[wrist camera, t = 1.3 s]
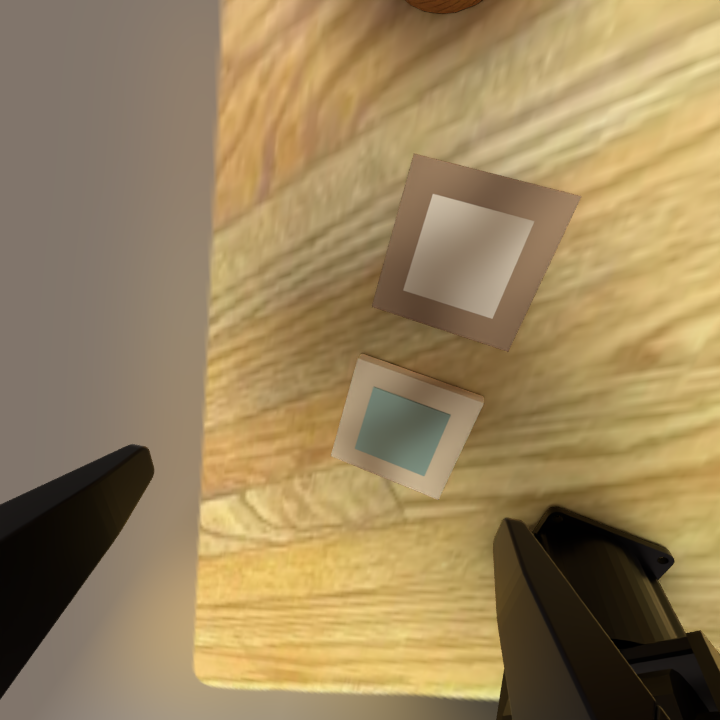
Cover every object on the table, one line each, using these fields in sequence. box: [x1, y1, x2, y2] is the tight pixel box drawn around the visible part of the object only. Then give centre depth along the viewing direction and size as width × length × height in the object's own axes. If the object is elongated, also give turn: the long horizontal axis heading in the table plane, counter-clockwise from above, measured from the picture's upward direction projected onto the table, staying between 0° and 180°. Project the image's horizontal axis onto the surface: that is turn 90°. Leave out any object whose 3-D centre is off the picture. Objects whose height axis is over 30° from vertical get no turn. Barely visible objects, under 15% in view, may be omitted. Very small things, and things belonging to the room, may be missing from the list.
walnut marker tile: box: [372, 154, 581, 352], centre depth 17 cm, size 7×7×1 cm
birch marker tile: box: [331, 353, 484, 500], centre depth 21 cm, size 7×7×1 cm
